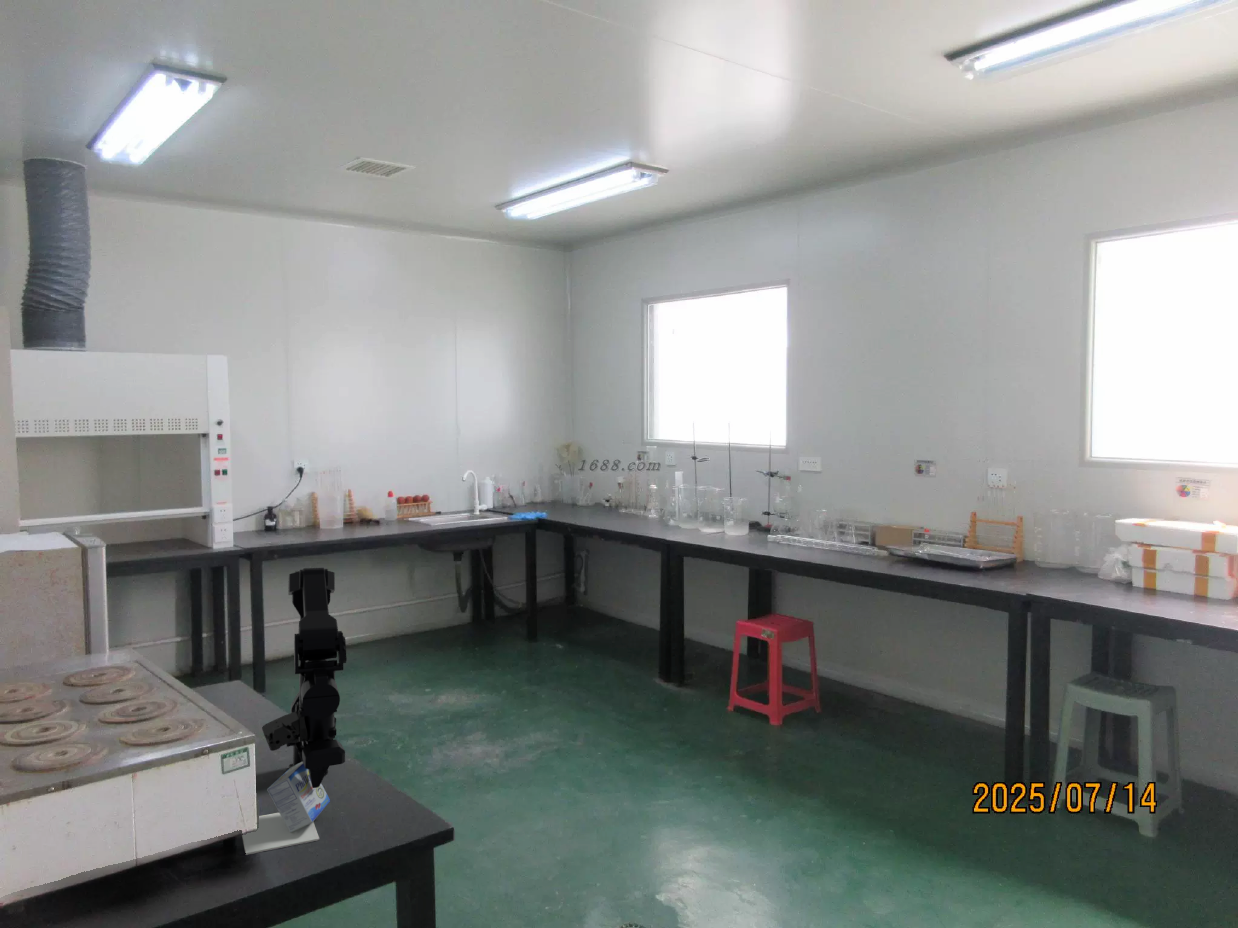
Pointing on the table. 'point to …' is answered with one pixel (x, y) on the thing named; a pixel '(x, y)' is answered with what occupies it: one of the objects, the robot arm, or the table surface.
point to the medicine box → (298, 797)
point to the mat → (277, 835)
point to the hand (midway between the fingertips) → (315, 786)
